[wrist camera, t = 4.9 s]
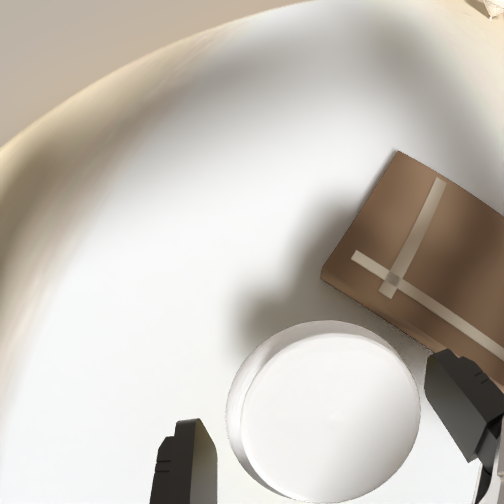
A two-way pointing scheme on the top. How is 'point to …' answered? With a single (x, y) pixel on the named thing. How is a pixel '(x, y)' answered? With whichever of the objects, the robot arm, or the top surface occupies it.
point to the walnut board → (428, 264)
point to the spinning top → (494, 7)
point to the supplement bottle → (323, 412)
